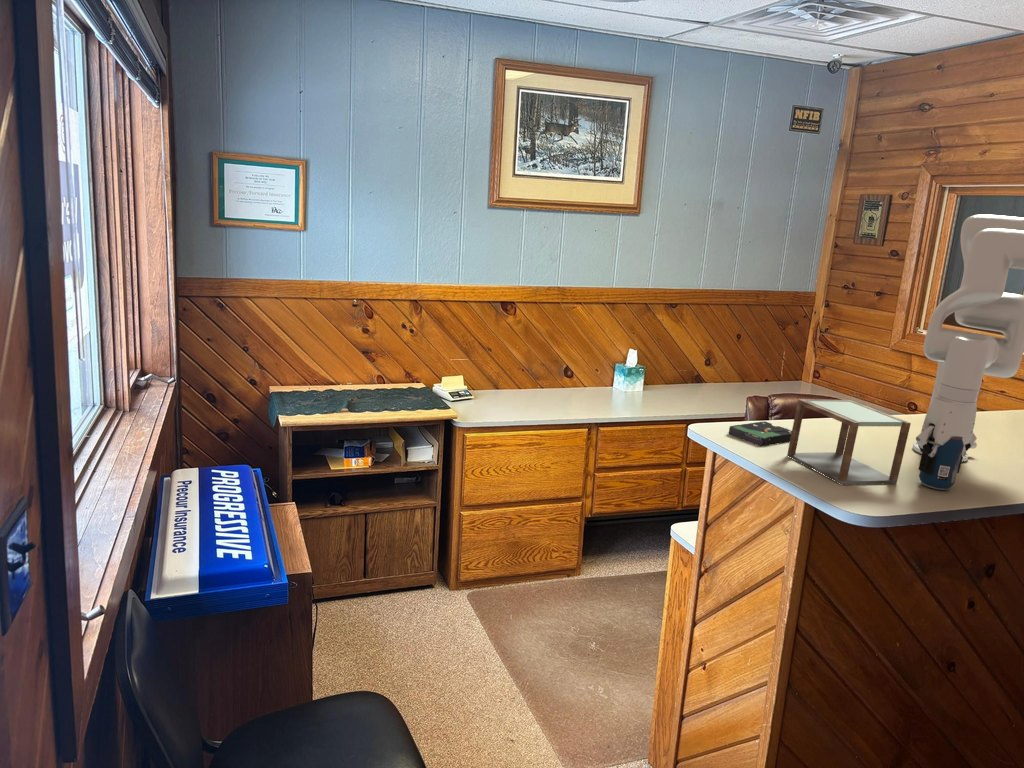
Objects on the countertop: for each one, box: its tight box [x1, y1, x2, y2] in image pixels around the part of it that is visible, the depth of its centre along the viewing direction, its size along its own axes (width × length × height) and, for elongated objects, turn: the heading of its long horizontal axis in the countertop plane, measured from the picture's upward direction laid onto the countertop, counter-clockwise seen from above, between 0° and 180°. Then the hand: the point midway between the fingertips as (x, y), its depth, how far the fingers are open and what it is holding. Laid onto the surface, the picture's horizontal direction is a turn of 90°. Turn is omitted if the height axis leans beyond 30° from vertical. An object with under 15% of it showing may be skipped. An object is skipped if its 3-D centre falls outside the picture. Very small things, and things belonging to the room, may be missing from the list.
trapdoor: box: [808, 401, 902, 427], centre depth 170 cm, size 16×12×1 cm
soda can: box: [918, 437, 964, 491], centre depth 167 cm, size 7×7×12 cm
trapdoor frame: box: [786, 398, 912, 485], centre depth 172 cm, size 18×15×14 cm
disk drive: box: [728, 421, 792, 447], centre depth 193 cm, size 10×3×15 cm
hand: (938, 471), depth 167 cm, fingers closed on soda can, 6 cm apart
